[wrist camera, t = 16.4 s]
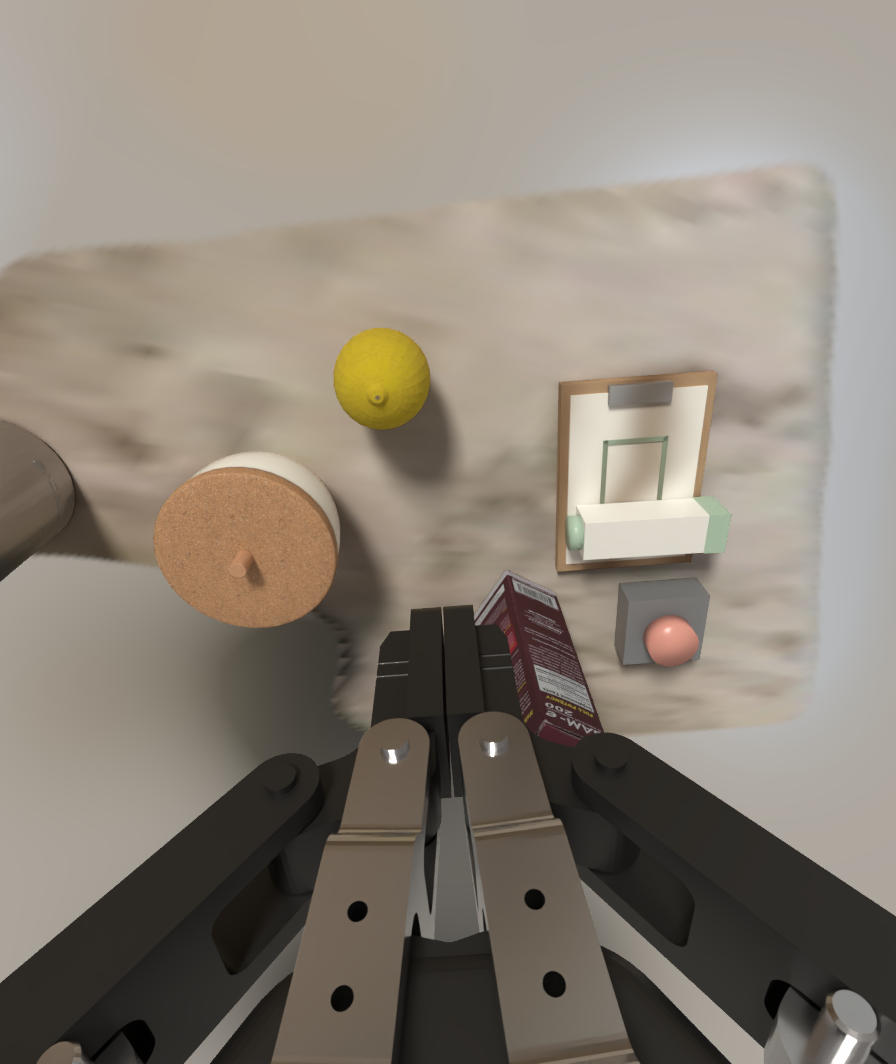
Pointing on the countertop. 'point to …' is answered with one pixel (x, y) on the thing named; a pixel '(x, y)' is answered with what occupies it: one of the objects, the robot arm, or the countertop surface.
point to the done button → (670, 640)
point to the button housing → (657, 613)
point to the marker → (648, 528)
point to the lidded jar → (250, 540)
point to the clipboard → (630, 449)
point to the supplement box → (542, 660)
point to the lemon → (381, 378)
